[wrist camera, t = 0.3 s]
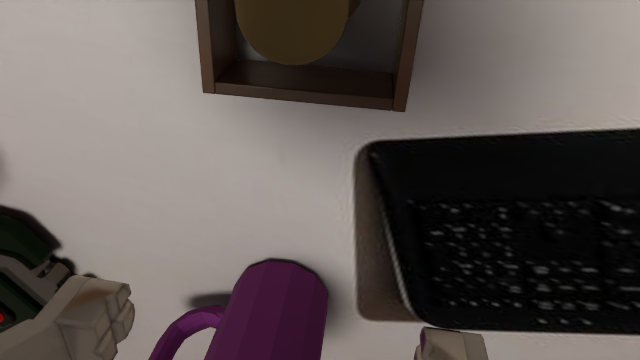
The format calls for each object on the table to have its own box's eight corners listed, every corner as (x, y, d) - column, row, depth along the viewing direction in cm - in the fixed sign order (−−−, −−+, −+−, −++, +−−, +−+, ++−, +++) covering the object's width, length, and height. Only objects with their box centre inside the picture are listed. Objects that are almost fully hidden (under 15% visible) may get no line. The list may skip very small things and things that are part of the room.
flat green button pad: (35, 359, 54) (8, 394, 50) (-96, 256, 47) (-139, 287, 43) (138, 316, 47) (116, 352, 44) (4, 189, 41) (-36, 219, 37)
